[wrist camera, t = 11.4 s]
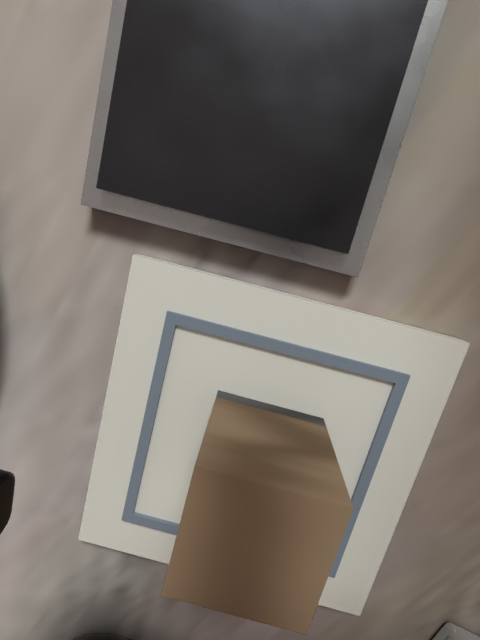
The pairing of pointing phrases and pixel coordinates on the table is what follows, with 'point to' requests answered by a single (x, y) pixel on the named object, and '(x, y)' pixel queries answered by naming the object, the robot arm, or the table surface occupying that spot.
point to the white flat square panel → (266, 386)
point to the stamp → (260, 515)
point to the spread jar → (101, 637)
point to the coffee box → (454, 633)
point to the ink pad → (258, 118)
